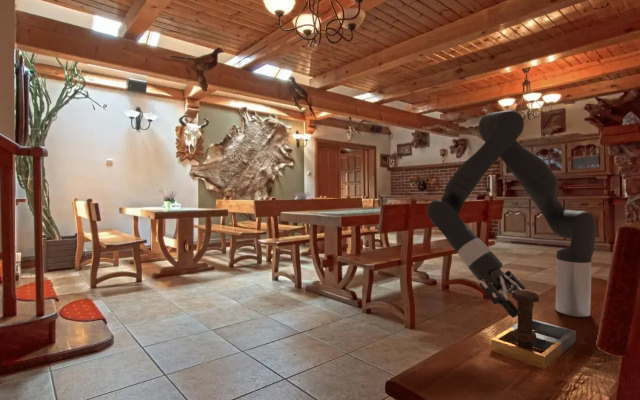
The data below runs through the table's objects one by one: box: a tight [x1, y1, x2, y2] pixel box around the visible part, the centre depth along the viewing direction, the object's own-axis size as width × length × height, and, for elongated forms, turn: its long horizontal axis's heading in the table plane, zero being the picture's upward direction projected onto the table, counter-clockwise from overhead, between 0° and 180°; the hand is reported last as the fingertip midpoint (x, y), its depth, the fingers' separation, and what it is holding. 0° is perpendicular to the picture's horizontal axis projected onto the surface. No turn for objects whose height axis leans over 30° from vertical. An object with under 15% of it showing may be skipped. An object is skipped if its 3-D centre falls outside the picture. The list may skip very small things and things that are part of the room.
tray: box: [490, 318, 577, 370], centre depth 92 cm, size 22×12×3 cm, turn 129°
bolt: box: [511, 290, 540, 351], centre depth 88 cm, size 6×5×15 cm
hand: (524, 311), depth 88 cm, fingers open, 8 cm apart
